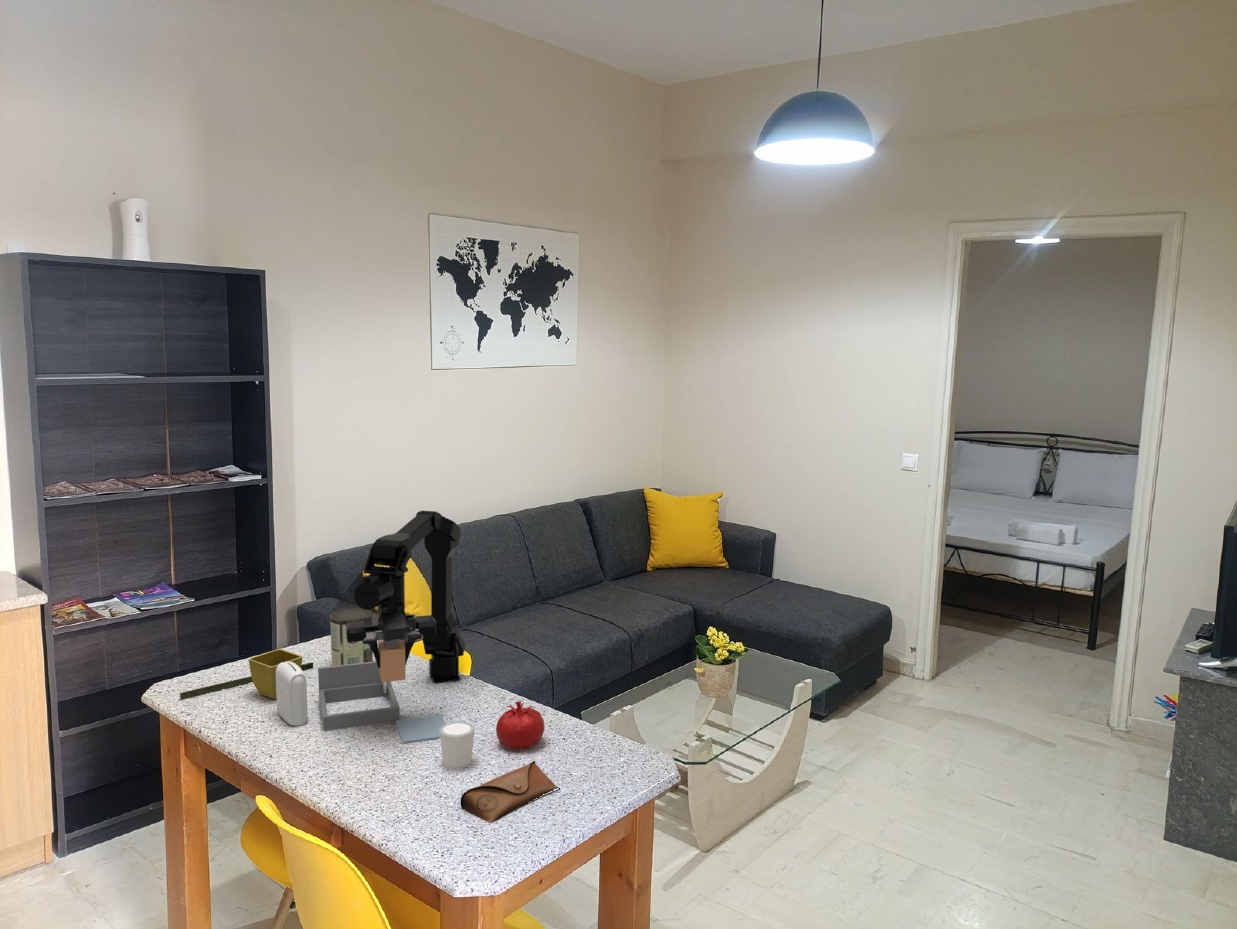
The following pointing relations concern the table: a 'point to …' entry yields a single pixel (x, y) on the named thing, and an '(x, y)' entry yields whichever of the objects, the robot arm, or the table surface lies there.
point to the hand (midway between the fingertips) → (391, 666)
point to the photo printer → (291, 693)
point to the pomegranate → (520, 727)
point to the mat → (420, 728)
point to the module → (391, 660)
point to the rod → (227, 685)
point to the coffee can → (339, 646)
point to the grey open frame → (355, 695)
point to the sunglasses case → (506, 793)
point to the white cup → (456, 744)
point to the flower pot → (270, 669)
